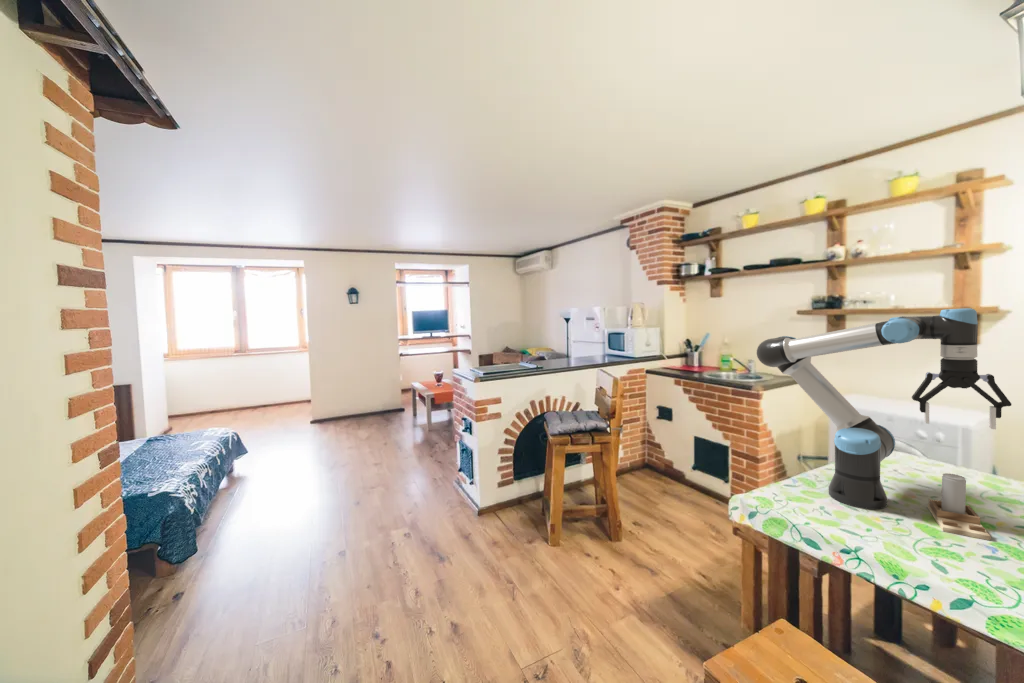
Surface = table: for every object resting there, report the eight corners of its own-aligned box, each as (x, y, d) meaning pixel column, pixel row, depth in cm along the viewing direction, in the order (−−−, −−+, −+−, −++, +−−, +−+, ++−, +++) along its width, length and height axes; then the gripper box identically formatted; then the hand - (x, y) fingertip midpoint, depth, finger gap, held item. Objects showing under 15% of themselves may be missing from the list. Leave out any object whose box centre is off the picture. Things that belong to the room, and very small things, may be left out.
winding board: (942, 531, 112) (943, 520, 112) (927, 507, 125) (927, 498, 124) (990, 540, 106) (990, 529, 106) (969, 514, 119) (969, 504, 119)
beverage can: (970, 518, 115) (971, 480, 114) (950, 518, 116) (951, 479, 115) (955, 510, 120) (956, 473, 119) (936, 510, 121) (937, 472, 120)
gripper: (903, 358, 125) (903, 423, 126) (1028, 360, 109) (1027, 434, 110) (900, 356, 131) (900, 417, 132) (1019, 357, 114) (1018, 427, 115)
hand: (958, 425), depth 121 cm, fingers open, 13 cm apart
